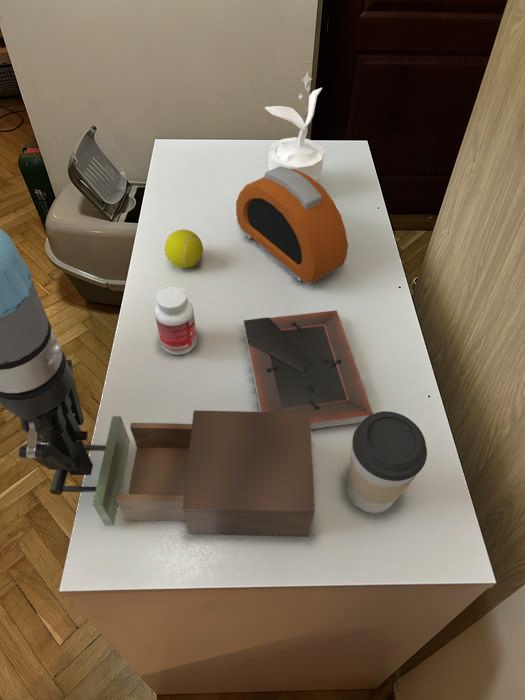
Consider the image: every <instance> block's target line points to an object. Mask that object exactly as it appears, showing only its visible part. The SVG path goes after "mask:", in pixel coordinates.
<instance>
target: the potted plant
mask: <svg viewBox="0 0 525 700" xmlns="http://www.w3.org/2000/svg"><path fill="white" fill-rule="evenodd" d="M312 80H313V78H311V77H310V76H309V70H308V69H306V73H305V76H304V77H303V78H302V79H301V81H302V82H303V84H304V89H305V90H306V93H307V94H308V93H309V90H311V87H310V84H309V82H311V81H312ZM322 90H323V87H320V88H317V89H314V90H312V91H311V93H310V95H308V107H307V108H308V109H307V117H306V119H305V122H304V120H303V117H302V116H301V115H300V114H299V113H298V112H297V111H296V110H295V109H294V108H293V107H290V106H284V105H272V106H264V109H265V110H266V111H267V112H268V113H270V114H271V115H272V116H274V117H277V118H280V119H283V120H286V121H288V122H290V123H292V124H293V125H294V126H295V127H297V128H298V129H300V130H299V133H298V136H296V137H295V136H293V137H288V138H287V137H286V138H281V139H279V140H277V141H275V142H274V143H271V146H270V148H269V150H268V162H267V163H268V165H267V166H268V167H267V169H268V171H270V170H273V169H275V168H277V167H279V166H281V167H285V168H288V169H296V170H298V171H300V172H302V173H304V174H306V175H308V176H309V177H311V178H312V179H313V180H314V181H316V180H317V179H318V178H320V176H321V174H322V171H323V165H324V156H325V151H324V149H323V148H322V147H321V145H320V144H319V143H317V142H315V141H313V140H311V139H310V138H306V137H307V135H308V133H309V132H308V131H309V130H308V126H309V125H310V123H311V122H312V119H313V117H314V115H315V110H316V109H315V108H316V104H317V99H318V96H319V94H320V93H321V91H322ZM303 97H304V95H303V94H302V92H300V94H299V95H298V96H297V98H299V101H301V99H302V98H303Z"/></svg>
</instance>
